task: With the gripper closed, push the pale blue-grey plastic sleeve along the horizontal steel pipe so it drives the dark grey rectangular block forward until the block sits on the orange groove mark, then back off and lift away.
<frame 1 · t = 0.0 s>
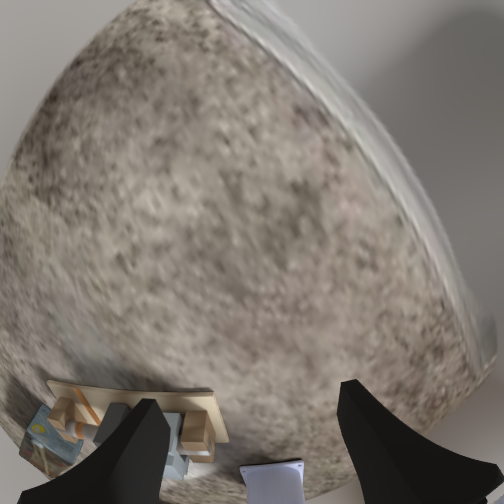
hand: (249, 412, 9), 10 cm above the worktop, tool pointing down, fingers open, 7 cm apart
sleeve: (156, 447, 19), point 4 cm above the worktop, slide at -4.0 cm
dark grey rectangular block: (121, 438, 19), point 4 cm above the worktop, slide at 0.0 cm
beverage carton: (54, 433, 26), on the worktop
pipe stand: (130, 414, 23), on the worktop
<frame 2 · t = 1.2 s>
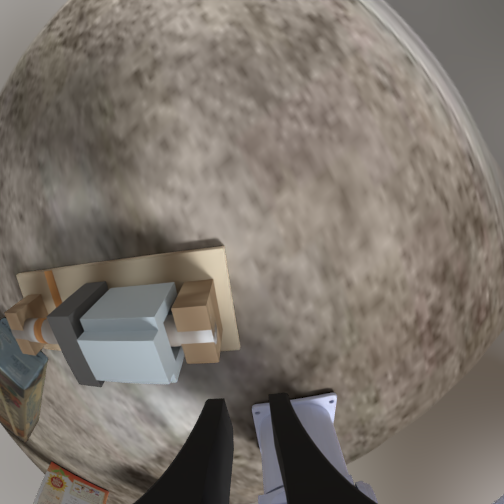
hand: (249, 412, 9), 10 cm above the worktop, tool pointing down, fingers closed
sleeve: (136, 336, 15), point 4 cm above the worktop, slide at -4.0 cm
cracker box: (80, 479, 32), on the worktop
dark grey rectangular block: (90, 332, 16), point 4 cm above the worktop, slide at 0.0 cm
beverage carton: (23, 375, 23), on the worktop
pipe stand: (109, 309, 19), on the worktop
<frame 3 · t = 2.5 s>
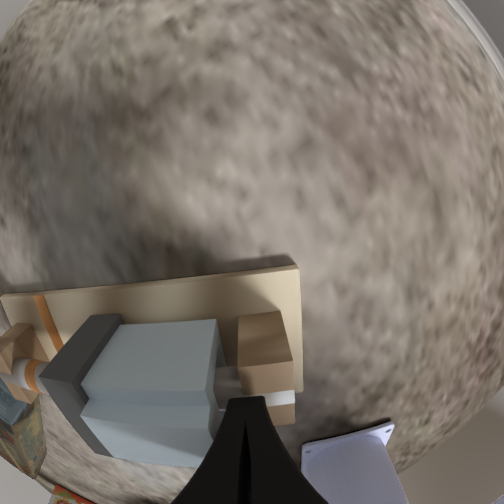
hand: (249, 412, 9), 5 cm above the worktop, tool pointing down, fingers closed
sleeve: (165, 398, 10), point 4 cm above the worktop, slide at -3.5 cm, touching gripper
cracker box: (87, 501, 27), on the worktop
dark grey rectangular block: (103, 386, 11), point 4 cm above the worktop, slide at 0.0 cm
beverage carton: (20, 405, 17), on the worktop
pipe stand: (125, 347, 14), on the worktop
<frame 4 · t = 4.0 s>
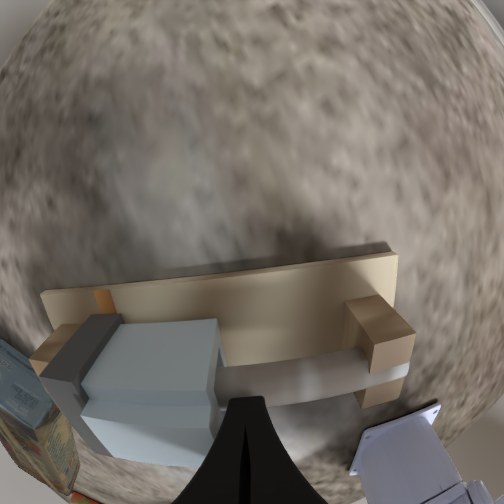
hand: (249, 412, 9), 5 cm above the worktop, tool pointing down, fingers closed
sleeve: (165, 397, 10), point 4 cm above the worktop, slide at 1.6 cm, touching gripper, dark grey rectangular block
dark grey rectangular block: (104, 386, 11), point 3 cm above the worktop, slide at 5.1 cm, touching sleeve
beverage carton: (45, 414, 17), on the worktop
pipe stand: (210, 344, 14), on the worktop
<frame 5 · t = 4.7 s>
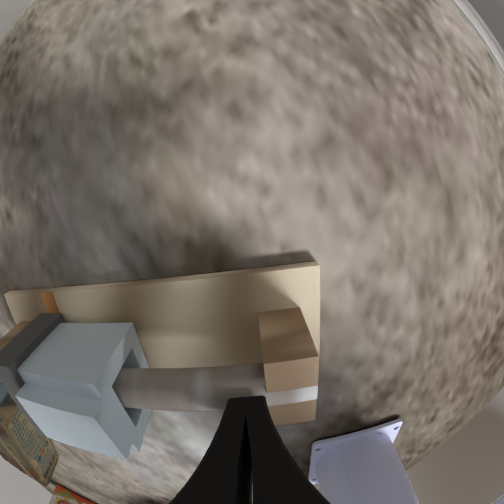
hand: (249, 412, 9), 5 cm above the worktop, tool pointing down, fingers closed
sleeve: (87, 390, 10), point 4 cm above the worktop, slide at 1.6 cm, touching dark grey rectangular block
cracker box: (88, 500, 27), on the worktop
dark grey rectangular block: (46, 376, 11), point 3 cm above the worktop, slide at 5.1 cm, touching sleeve
beverage carton: (21, 404, 17), on the worktop
pipe stand: (138, 346, 14), on the worktop
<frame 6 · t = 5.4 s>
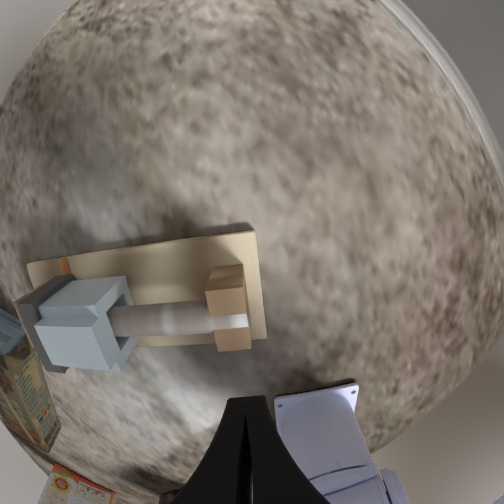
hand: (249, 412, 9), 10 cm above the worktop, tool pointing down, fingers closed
sleeve: (88, 325, 15), point 4 cm above the worktop, slide at 1.6 cm, touching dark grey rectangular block
cracker box: (85, 480, 32), on the worktop
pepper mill: (189, 500, 31), on the worktop
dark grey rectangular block: (57, 321, 16), point 3 cm above the worktop, slide at 5.1 cm, touching sleeve
beverage carton: (28, 372, 22), on the worktop
pipe stand: (129, 298, 19), on the worktop
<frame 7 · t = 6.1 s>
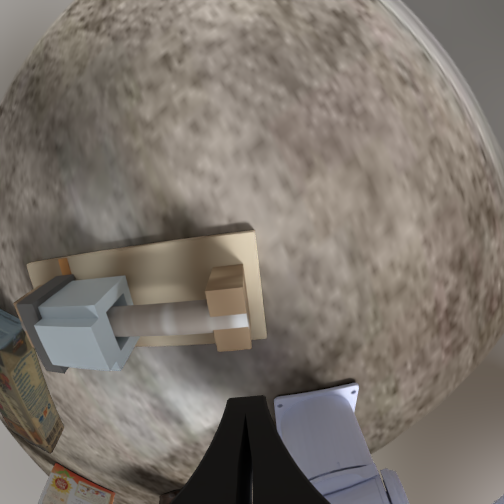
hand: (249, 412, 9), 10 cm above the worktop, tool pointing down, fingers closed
sleeve: (88, 325, 15), point 4 cm above the worktop, slide at 1.6 cm, touching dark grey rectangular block
cracker box: (85, 480, 32), on the worktop
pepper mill: (189, 500, 31), on the worktop
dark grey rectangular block: (57, 321, 16), point 4 cm above the worktop, slide at 5.1 cm, touching sleeve
beverage carton: (28, 372, 22), on the worktop
pipe stand: (129, 298, 19), on the worktop
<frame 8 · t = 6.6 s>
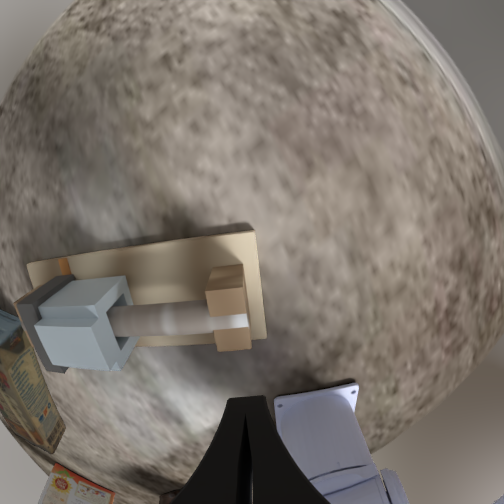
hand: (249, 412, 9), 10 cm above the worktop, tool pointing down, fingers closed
sleeve: (88, 325, 15), point 4 cm above the worktop, slide at 1.6 cm, touching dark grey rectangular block
cracker box: (85, 480, 32), on the worktop
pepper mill: (189, 500, 31), on the worktop
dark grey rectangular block: (57, 321, 16), point 4 cm above the worktop, slide at 5.1 cm, touching sleeve
beverage carton: (28, 372, 22), on the worktop
pipe stand: (129, 298, 19), on the worktop
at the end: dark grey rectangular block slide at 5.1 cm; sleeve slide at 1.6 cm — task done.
